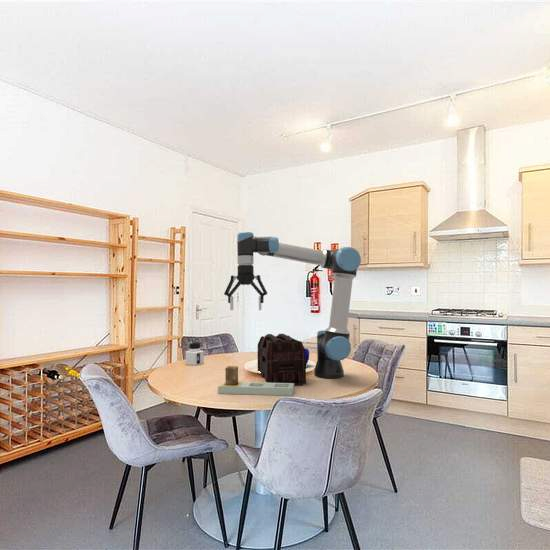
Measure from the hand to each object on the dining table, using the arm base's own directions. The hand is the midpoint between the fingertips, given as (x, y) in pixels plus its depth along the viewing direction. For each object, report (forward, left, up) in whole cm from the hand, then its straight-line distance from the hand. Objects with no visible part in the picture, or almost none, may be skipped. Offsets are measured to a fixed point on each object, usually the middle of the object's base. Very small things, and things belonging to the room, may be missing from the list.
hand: (245, 310), depth 185 cm
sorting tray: (-7, +12, -35) cm, 37 cm away
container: (+42, -47, -35) cm, 72 cm away
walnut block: (+4, +12, -33) cm, 35 cm away
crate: (-14, -16, -35) cm, 41 cm away
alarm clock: (-20, -46, -35) cm, 61 cm away
